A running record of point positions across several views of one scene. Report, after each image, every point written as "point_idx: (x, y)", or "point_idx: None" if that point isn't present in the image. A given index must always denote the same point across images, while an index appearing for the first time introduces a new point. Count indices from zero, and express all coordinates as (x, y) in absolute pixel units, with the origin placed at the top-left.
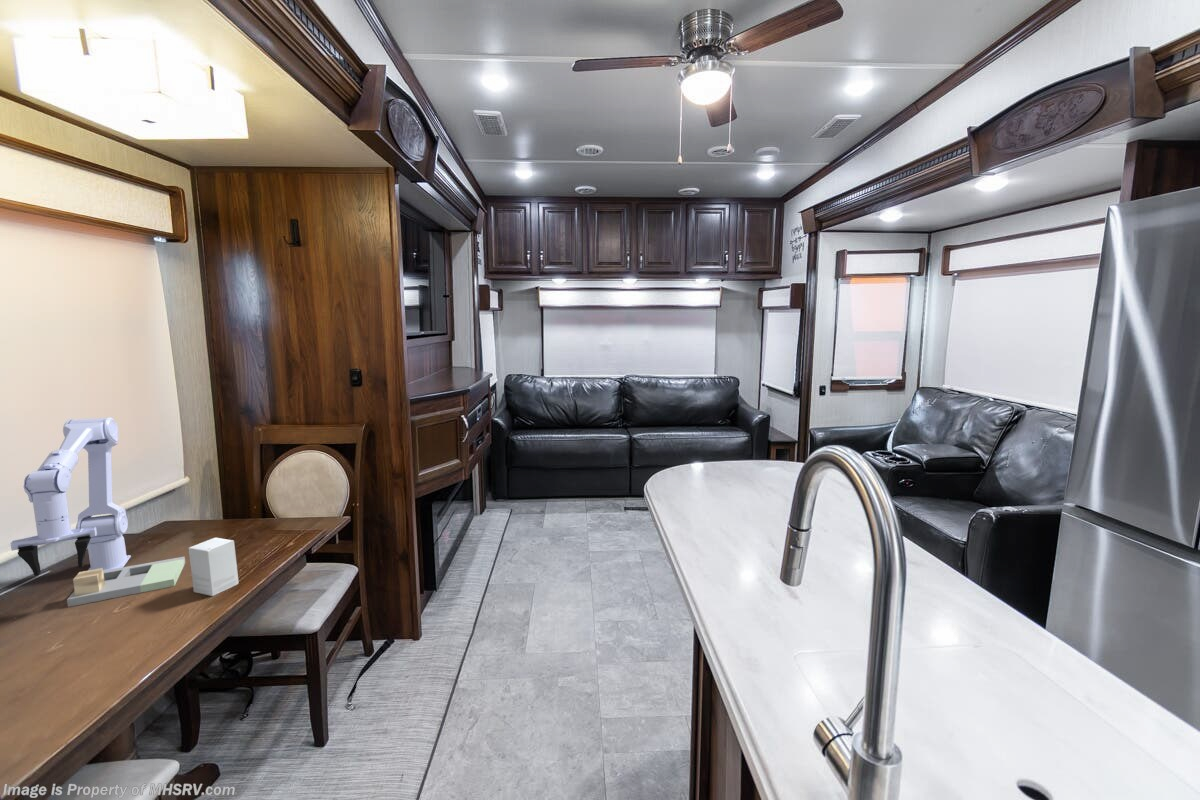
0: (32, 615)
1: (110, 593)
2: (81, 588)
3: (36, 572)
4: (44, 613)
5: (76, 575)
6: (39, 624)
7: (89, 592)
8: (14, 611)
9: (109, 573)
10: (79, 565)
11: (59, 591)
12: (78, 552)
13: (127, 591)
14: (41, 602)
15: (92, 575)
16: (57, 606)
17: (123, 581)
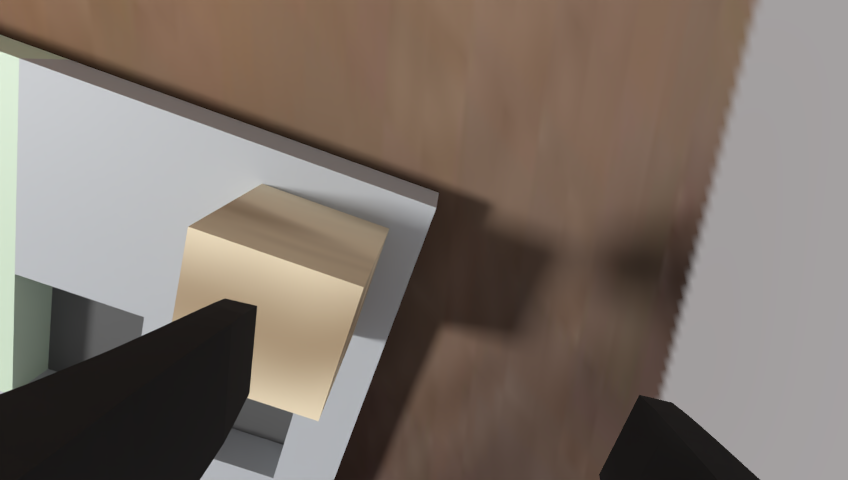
0: (598, 228)
1: (209, 120)
2: (341, 234)
3: (677, 426)
4: (547, 202)
5: (338, 364)
6: (599, 25)
7: (313, 203)
8: (647, 366)
9: (228, 455)
10: (232, 308)
11: (450, 456)
12: (15, 447)
13: (120, 85)
14: (533, 382)
15: (223, 252)
16: (481, 255)
17: (136, 244)
